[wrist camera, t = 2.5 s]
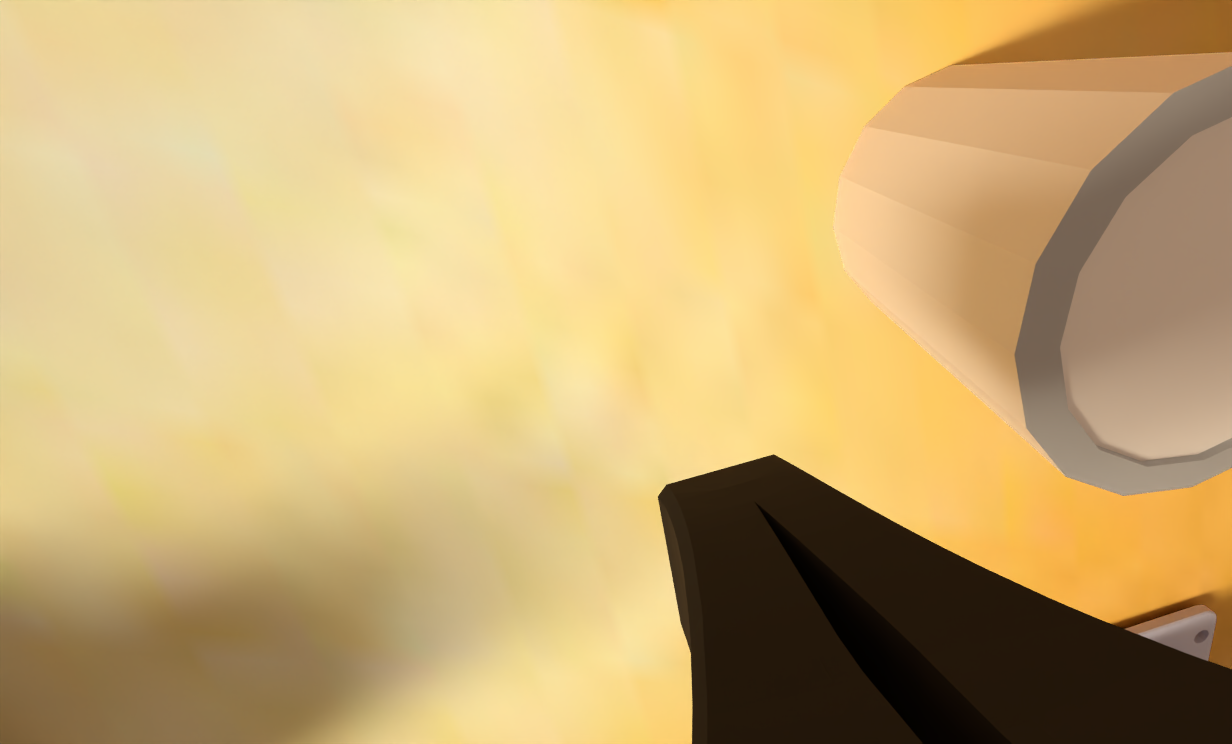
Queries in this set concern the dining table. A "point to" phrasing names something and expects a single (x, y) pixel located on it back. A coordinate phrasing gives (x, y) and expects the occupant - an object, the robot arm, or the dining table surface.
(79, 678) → the dining table surface
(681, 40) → the dining table surface
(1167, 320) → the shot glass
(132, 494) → the dining table surface
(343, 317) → the dining table surface
